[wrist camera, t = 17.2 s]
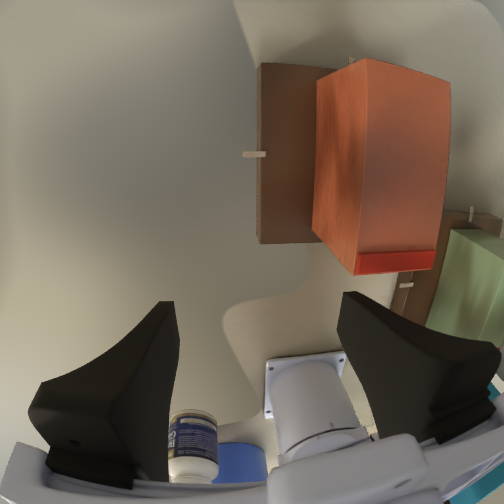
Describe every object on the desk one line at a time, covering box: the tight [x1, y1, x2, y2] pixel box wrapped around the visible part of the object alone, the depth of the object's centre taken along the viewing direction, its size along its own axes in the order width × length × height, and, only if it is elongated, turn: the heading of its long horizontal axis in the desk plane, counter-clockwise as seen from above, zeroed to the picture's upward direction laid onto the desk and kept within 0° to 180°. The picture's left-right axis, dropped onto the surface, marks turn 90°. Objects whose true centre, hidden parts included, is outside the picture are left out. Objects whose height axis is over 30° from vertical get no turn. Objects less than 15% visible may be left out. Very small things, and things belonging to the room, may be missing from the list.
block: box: [449, 382, 504, 504], centre depth 22 cm, size 12×5×20 cm, turn 87°
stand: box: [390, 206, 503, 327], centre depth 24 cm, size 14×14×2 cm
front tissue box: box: [312, 58, 451, 276], centre depth 15 cm, size 10×5×7 cm, turn 0°
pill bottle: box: [168, 410, 219, 484], centre depth 25 cm, size 5×5×10 cm
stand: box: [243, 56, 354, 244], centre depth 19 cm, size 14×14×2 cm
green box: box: [425, 229, 504, 350], centre depth 20 cm, size 10×5×7 cm, turn 0°
